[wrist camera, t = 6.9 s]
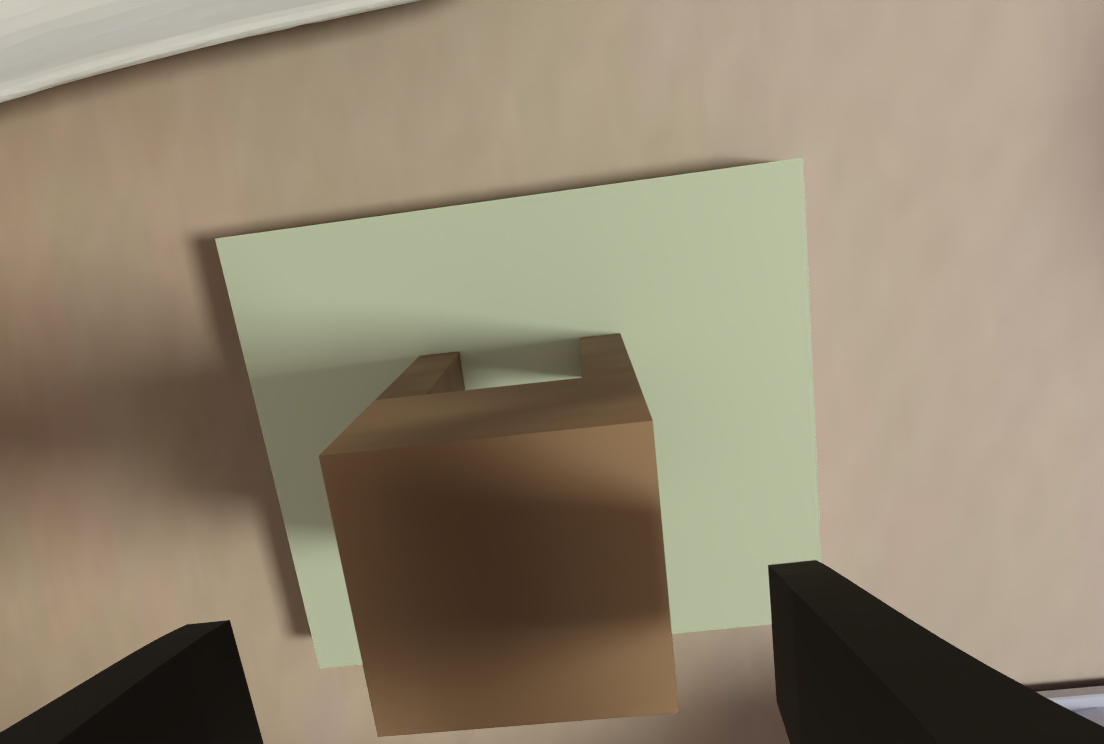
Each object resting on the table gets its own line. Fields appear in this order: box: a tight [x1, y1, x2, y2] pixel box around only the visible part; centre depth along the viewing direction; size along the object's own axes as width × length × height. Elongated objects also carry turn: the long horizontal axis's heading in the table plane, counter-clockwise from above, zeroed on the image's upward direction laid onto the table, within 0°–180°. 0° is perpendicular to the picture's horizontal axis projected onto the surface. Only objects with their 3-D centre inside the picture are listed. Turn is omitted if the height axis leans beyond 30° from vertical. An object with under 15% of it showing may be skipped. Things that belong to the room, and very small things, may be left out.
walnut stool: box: [319, 333, 679, 737], centre depth 14 cm, size 5×5×7 cm
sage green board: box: [215, 158, 821, 669], centre depth 18 cm, size 14×12×2 cm
